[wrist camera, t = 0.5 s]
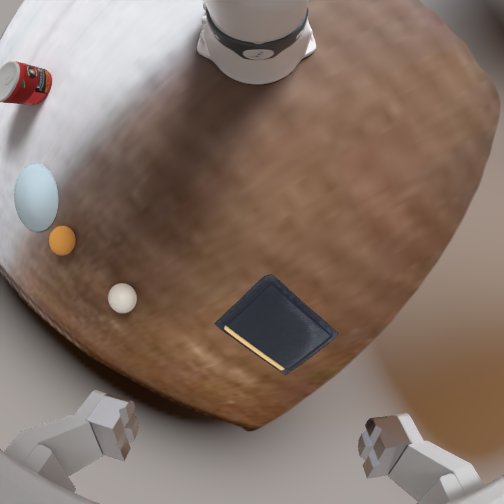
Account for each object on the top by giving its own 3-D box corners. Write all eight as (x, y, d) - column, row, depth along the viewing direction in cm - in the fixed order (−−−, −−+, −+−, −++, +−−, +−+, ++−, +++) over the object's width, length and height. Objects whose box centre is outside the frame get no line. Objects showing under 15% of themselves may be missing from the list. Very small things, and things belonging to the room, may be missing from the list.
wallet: (342, 338, 52) (284, 380, 56) (339, 332, 54) (283, 374, 58) (271, 271, 48) (210, 325, 51) (271, 267, 50) (212, 320, 53)
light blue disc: (12, 170, 43) (11, 170, 43) (55, 157, 42) (54, 158, 42) (20, 233, 47) (19, 233, 47) (63, 229, 47) (62, 229, 47)
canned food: (55, 91, 38) (19, 84, 28) (29, 112, 39) (-7, 110, 29) (50, 62, 36) (16, 52, 25) (25, 83, 37) (-10, 78, 26)
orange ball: (57, 223, 47) (41, 230, 41) (78, 221, 46) (62, 229, 41) (62, 250, 48) (47, 259, 43) (83, 249, 48) (67, 259, 43)
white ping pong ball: (112, 278, 50) (100, 290, 45) (138, 278, 50) (126, 291, 45) (118, 303, 52) (107, 317, 47) (143, 304, 52) (133, 319, 46)
